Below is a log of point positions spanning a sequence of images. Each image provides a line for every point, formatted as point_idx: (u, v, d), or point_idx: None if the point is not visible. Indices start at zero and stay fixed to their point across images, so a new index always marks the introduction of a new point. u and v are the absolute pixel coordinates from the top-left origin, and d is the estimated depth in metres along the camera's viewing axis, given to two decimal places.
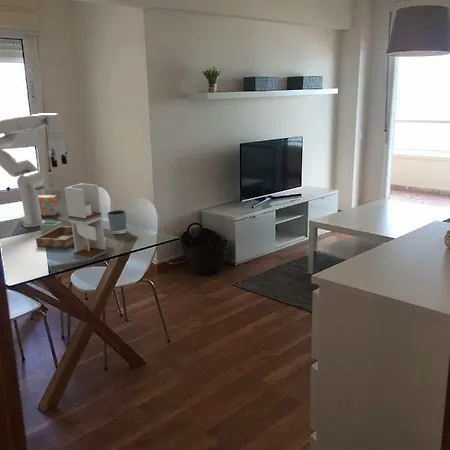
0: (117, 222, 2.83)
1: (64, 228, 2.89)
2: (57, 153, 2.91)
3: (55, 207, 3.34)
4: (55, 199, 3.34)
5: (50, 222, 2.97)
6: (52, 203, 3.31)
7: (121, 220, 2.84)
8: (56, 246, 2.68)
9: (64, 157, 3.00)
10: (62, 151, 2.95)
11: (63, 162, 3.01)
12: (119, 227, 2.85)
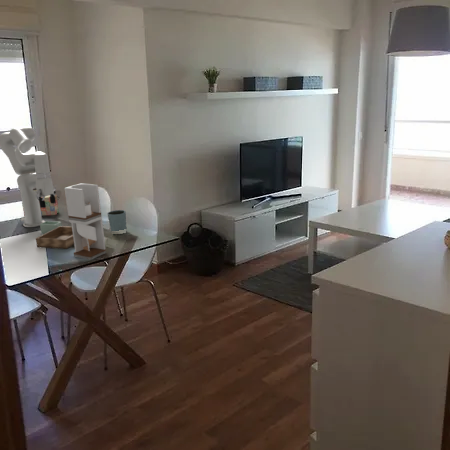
0: (117, 222, 2.83)
1: (64, 228, 2.89)
2: (45, 193, 2.84)
3: (55, 207, 3.35)
4: (55, 199, 3.34)
5: (50, 222, 2.97)
6: (52, 203, 3.32)
7: (121, 220, 2.84)
8: (56, 246, 2.68)
9: (53, 196, 2.93)
10: (50, 191, 2.89)
11: (52, 201, 2.94)
12: (119, 227, 2.85)
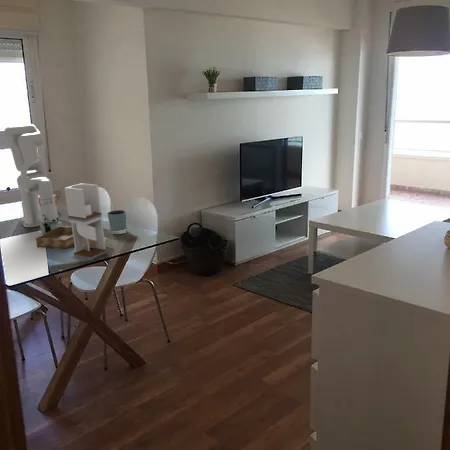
0: (117, 222, 2.83)
1: (64, 228, 2.89)
2: (49, 219, 2.89)
3: None
4: (55, 199, 3.35)
5: (50, 222, 2.97)
6: None
7: (121, 220, 2.84)
8: (56, 246, 2.68)
9: None
10: (54, 216, 2.93)
11: None
12: (119, 227, 2.85)
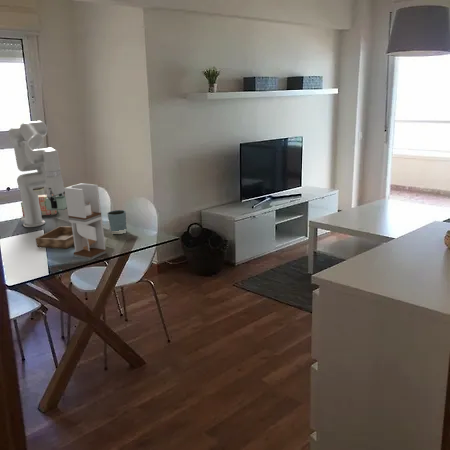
0: (117, 222, 2.83)
1: (64, 228, 2.89)
2: (55, 192, 2.67)
3: None
4: None
5: (56, 197, 2.75)
6: None
7: (121, 220, 2.84)
8: (56, 246, 2.68)
9: None
10: (61, 190, 2.72)
11: None
12: (119, 227, 2.85)
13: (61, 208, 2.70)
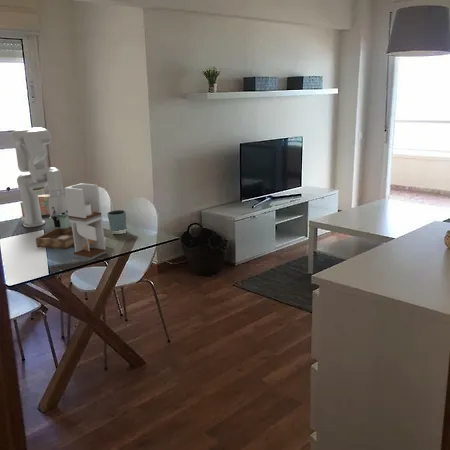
0: (117, 222, 2.83)
1: None
2: (58, 212, 2.70)
3: None
4: None
5: (59, 215, 2.78)
6: None
7: (121, 220, 2.84)
8: (56, 246, 2.68)
9: None
10: (63, 209, 2.74)
11: None
12: (119, 227, 2.85)
13: (64, 227, 2.72)
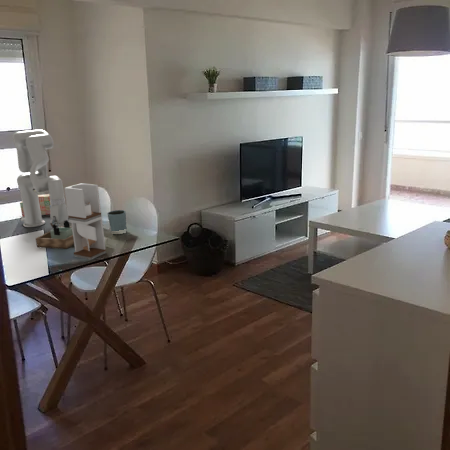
0: (117, 222, 2.83)
1: None
2: (59, 220, 2.72)
3: None
4: None
5: (61, 228, 2.80)
6: None
7: (121, 220, 2.84)
8: (56, 246, 2.68)
9: (67, 223, 2.80)
10: (65, 217, 2.76)
11: None
12: (119, 227, 2.85)
13: None
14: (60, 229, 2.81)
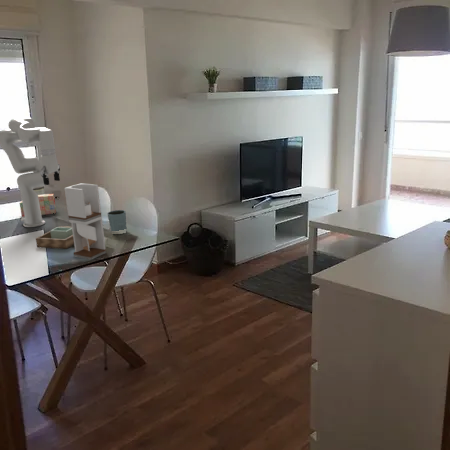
0: (117, 222, 2.83)
1: None
2: (49, 170, 2.80)
3: (54, 205, 3.39)
4: (53, 197, 3.38)
5: (61, 228, 2.80)
6: (52, 201, 3.36)
7: (121, 220, 2.84)
8: (56, 246, 2.68)
9: (57, 174, 2.89)
10: (55, 168, 2.84)
11: (56, 179, 2.90)
12: (119, 227, 2.85)
13: None
14: (60, 229, 2.81)
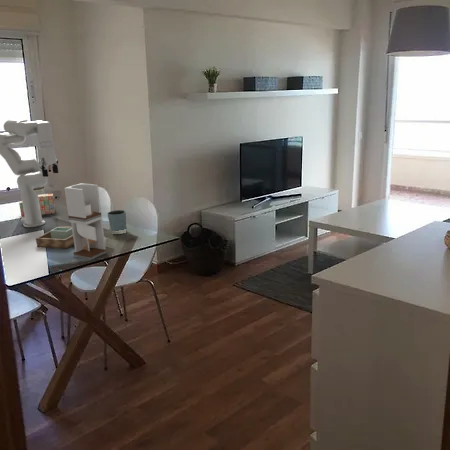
0: (117, 222, 2.83)
1: None
2: (48, 162, 2.83)
3: (54, 205, 3.39)
4: (53, 197, 3.39)
5: (61, 228, 2.80)
6: (52, 201, 3.36)
7: (121, 220, 2.84)
8: (56, 246, 2.68)
9: (55, 166, 2.92)
10: (53, 160, 2.87)
11: (54, 171, 2.93)
12: (119, 227, 2.85)
13: None
14: (60, 229, 2.81)
